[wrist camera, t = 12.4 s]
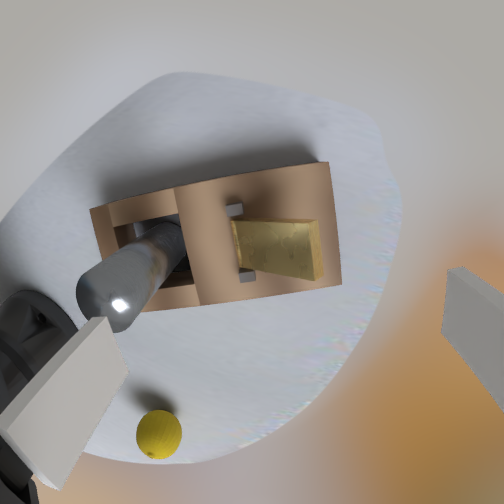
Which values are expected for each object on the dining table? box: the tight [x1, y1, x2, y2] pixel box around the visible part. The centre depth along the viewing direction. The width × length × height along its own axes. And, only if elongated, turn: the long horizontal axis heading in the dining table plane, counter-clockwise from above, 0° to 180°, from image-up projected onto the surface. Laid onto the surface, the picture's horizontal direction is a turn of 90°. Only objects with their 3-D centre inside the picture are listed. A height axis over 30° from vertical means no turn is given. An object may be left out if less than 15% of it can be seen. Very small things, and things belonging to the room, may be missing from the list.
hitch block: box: [89, 162, 342, 312], centre depth 25 cm, size 20×10×5 cm, turn 100°
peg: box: [76, 222, 187, 333], centre depth 22 cm, size 4×4×13 cm
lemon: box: [136, 410, 182, 459], centre depth 31 cm, size 6×6×8 cm
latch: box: [230, 218, 324, 281], centre depth 21 cm, size 7×4×1 cm
